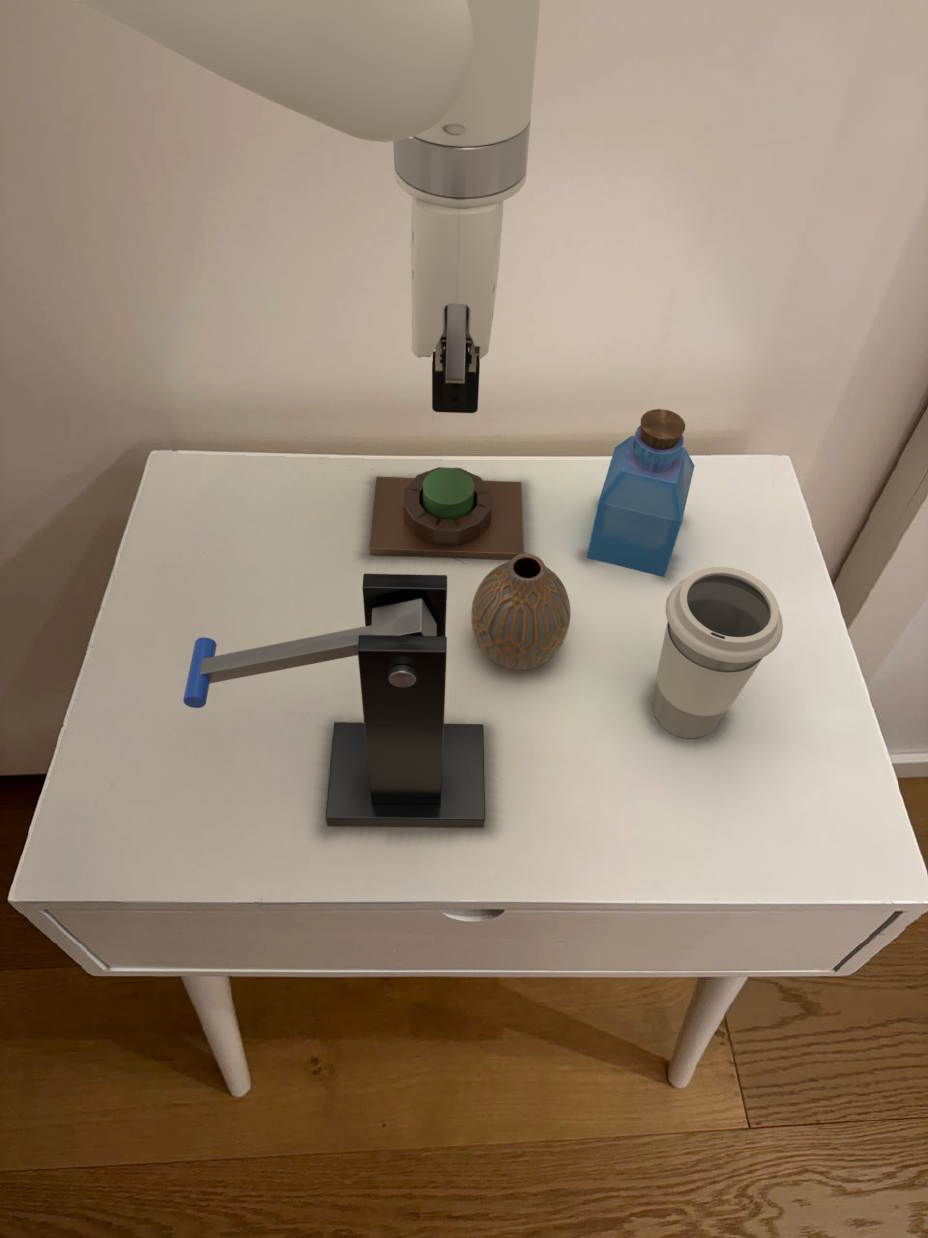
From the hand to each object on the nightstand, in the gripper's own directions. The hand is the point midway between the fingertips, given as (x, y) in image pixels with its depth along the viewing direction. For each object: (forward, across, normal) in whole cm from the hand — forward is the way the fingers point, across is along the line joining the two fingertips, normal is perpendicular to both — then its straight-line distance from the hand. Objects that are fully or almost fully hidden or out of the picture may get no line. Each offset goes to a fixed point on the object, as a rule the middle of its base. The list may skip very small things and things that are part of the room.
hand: (455, 404), depth 68 cm
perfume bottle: (+12, +2, +14) cm, 19 cm away
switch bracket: (+12, +24, -2) cm, 26 cm away
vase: (+12, +12, +5) cm, 18 cm away
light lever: (-2, +24, -7) cm, 25 cm away
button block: (+12, 0, 0) cm, 12 cm away
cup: (+12, +18, +17) cm, 27 cm away
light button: (+10, 0, 0) cm, 10 cm away
